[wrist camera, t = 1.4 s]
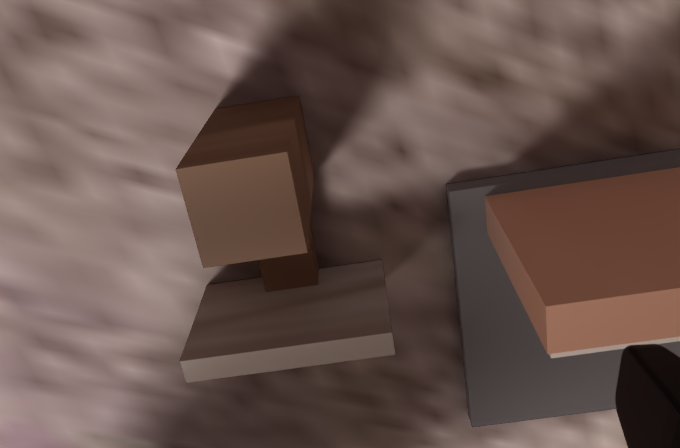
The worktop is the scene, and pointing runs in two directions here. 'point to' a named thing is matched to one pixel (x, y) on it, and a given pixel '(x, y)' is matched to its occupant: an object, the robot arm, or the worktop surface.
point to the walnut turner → (270, 254)
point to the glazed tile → (594, 260)
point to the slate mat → (511, 317)
